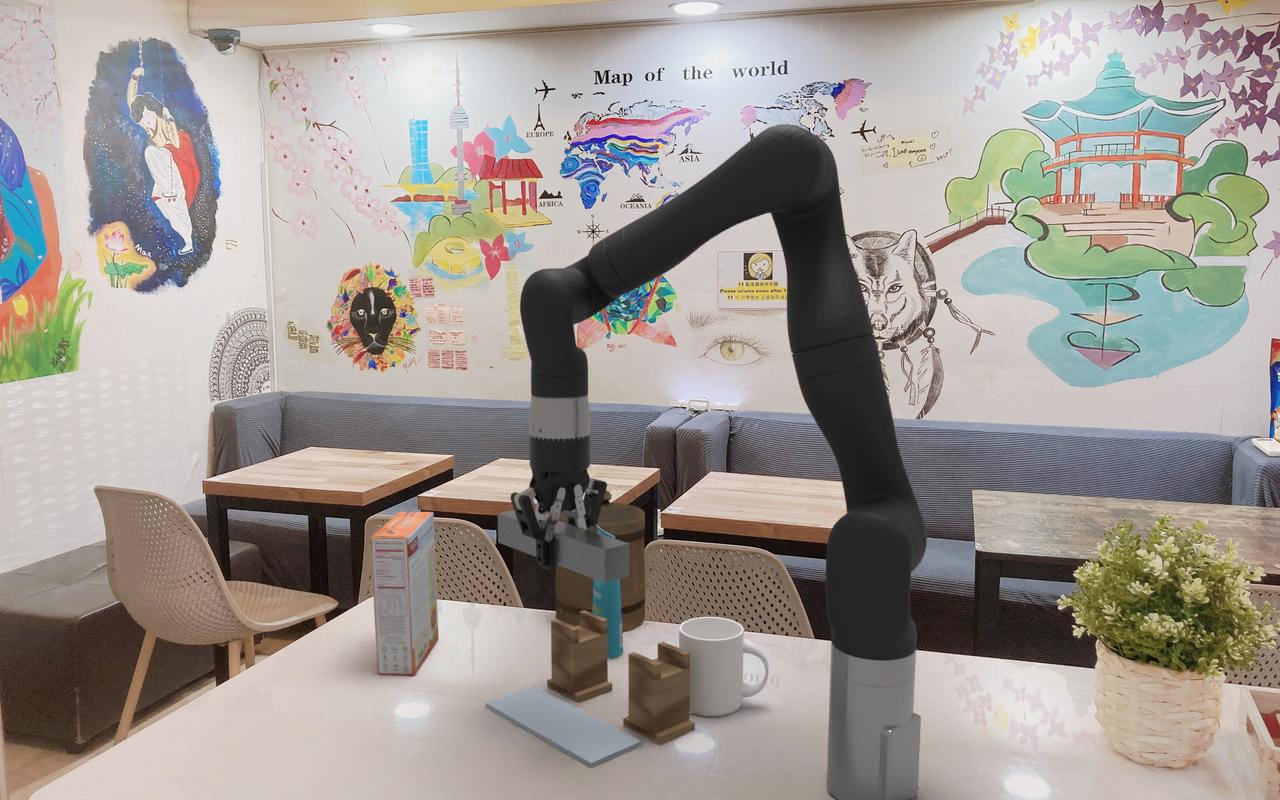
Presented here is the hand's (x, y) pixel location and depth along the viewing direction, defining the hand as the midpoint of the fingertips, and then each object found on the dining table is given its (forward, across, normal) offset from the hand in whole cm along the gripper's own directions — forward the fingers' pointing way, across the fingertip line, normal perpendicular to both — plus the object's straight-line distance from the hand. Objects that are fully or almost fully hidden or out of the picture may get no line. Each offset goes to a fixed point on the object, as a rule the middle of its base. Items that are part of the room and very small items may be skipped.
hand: (560, 564), depth 128 cm
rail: (-1, 0, 0) cm, 1 cm away
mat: (+21, 0, 0) cm, 21 cm away
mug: (+22, +20, -10) cm, 31 cm away
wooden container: (+22, +28, +26) cm, 44 cm away
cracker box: (+22, -4, +33) cm, 39 cm away
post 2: (+21, +9, -9) cm, 25 cm away
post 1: (+21, +8, +7) cm, 24 cm away
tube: (+22, +19, +14) cm, 32 cm away
